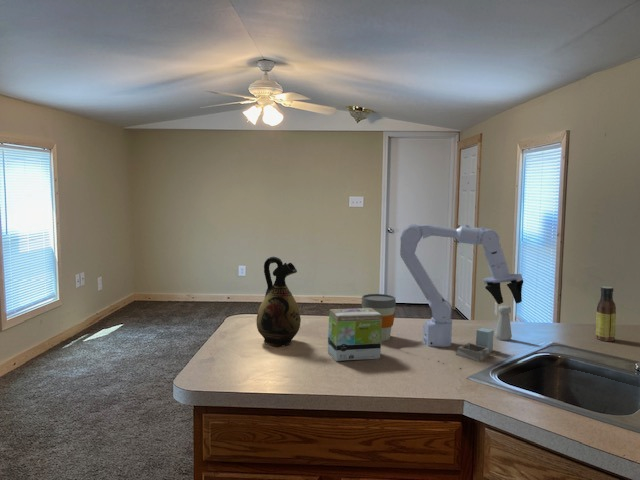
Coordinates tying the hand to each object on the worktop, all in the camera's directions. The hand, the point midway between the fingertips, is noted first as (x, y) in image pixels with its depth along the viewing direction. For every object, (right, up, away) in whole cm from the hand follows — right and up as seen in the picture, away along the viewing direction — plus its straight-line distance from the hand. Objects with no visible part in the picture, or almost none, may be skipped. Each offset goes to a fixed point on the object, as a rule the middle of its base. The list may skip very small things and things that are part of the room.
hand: (509, 302), depth 161 cm
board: (-11, -17, -3) cm, 21 cm away
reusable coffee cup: (-42, -15, +17) cm, 48 cm away
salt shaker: (+3, -16, +15) cm, 22 cm away
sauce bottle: (+43, -16, +19) cm, 50 cm away
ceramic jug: (-79, -15, +8) cm, 80 cm away
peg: (-8, -16, 0) cm, 18 cm away
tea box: (-52, -17, -4) cm, 55 cm away
